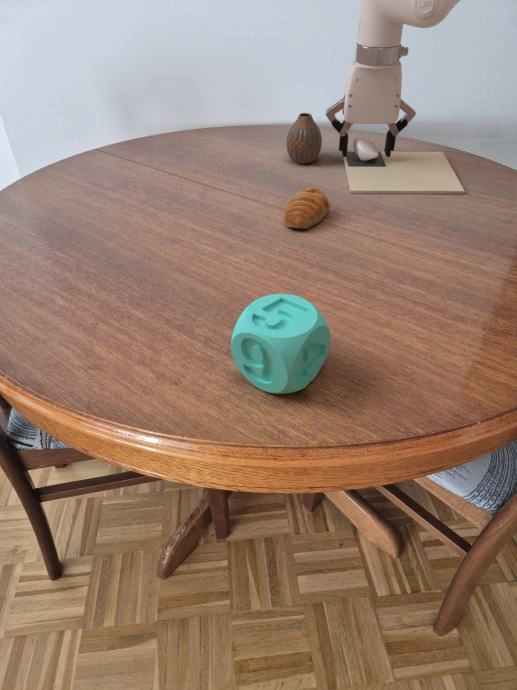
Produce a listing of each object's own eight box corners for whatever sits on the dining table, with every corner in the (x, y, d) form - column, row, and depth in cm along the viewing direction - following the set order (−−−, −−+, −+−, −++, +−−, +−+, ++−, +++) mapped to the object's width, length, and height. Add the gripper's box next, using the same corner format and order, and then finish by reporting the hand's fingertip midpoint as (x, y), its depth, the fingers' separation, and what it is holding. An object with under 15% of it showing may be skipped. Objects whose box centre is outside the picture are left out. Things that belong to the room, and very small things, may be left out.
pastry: (314, 235, 85) (315, 213, 83) (274, 228, 87) (274, 206, 85) (332, 210, 92) (333, 188, 89) (294, 203, 94) (295, 182, 91)
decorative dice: (328, 365, 63) (334, 310, 57) (288, 406, 58) (290, 349, 53) (273, 338, 66) (273, 284, 61) (231, 374, 62) (227, 319, 57)
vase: (326, 157, 109) (329, 112, 103) (310, 169, 105) (312, 123, 99) (296, 151, 112) (298, 106, 106) (279, 162, 107) (280, 117, 102)
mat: (442, 154, 109) (443, 150, 109) (464, 194, 96) (465, 189, 95) (342, 154, 110) (342, 150, 110) (350, 193, 97) (350, 189, 96)
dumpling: (347, 154, 109) (352, 133, 107) (372, 158, 110) (377, 138, 108) (354, 161, 103) (359, 139, 101) (380, 166, 103) (386, 144, 102)
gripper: (423, 49, 97) (407, 147, 108) (325, 50, 98) (319, 147, 109) (431, 60, 91) (413, 162, 103) (328, 60, 92) (321, 162, 103)
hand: (365, 153), depth 106 cm, fingers open, 7 cm apart
